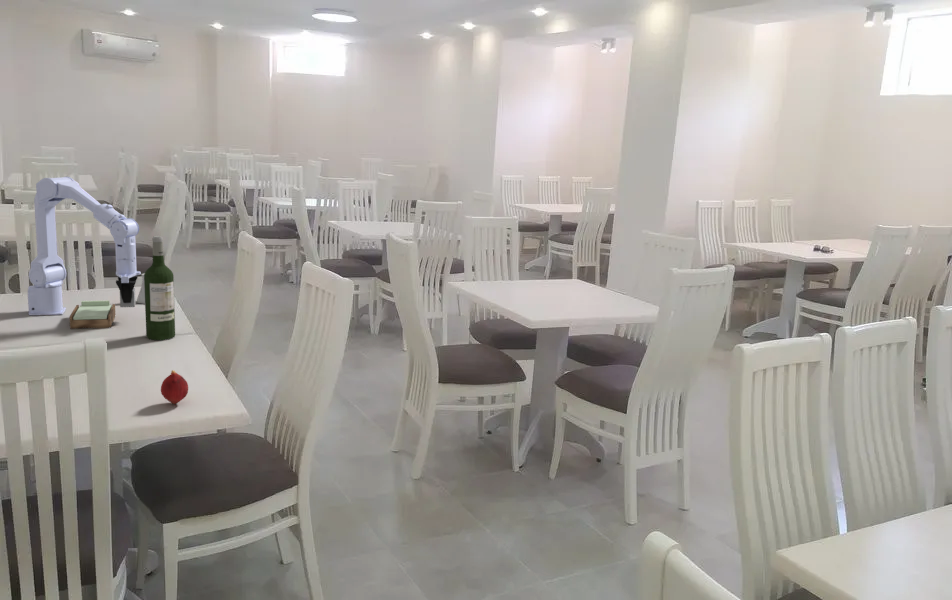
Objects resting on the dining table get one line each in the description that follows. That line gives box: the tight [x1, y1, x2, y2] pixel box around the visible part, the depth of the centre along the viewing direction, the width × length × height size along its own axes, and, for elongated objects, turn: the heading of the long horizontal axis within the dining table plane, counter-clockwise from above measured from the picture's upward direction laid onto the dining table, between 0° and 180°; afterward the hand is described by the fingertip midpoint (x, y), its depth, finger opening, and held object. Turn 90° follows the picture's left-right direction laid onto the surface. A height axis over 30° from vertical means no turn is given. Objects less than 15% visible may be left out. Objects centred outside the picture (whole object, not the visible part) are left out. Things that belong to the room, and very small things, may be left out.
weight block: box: [119, 288, 136, 308], centre depth 231 cm, size 4×4×5 cm
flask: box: [135, 272, 145, 305], centre depth 257 cm, size 7×7×10 cm
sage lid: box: [73, 299, 113, 320], centre depth 229 cm, size 9×15×2 cm, turn 21°
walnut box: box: [69, 303, 116, 330], centre depth 229 cm, size 11×15×4 cm
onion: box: [160, 370, 189, 405], centre depth 168 cm, size 6×6×8 cm
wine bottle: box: [143, 235, 176, 341], centre depth 215 cm, size 8×8×30 cm
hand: (127, 300), depth 231 cm, fingers closed on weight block, 4 cm apart
